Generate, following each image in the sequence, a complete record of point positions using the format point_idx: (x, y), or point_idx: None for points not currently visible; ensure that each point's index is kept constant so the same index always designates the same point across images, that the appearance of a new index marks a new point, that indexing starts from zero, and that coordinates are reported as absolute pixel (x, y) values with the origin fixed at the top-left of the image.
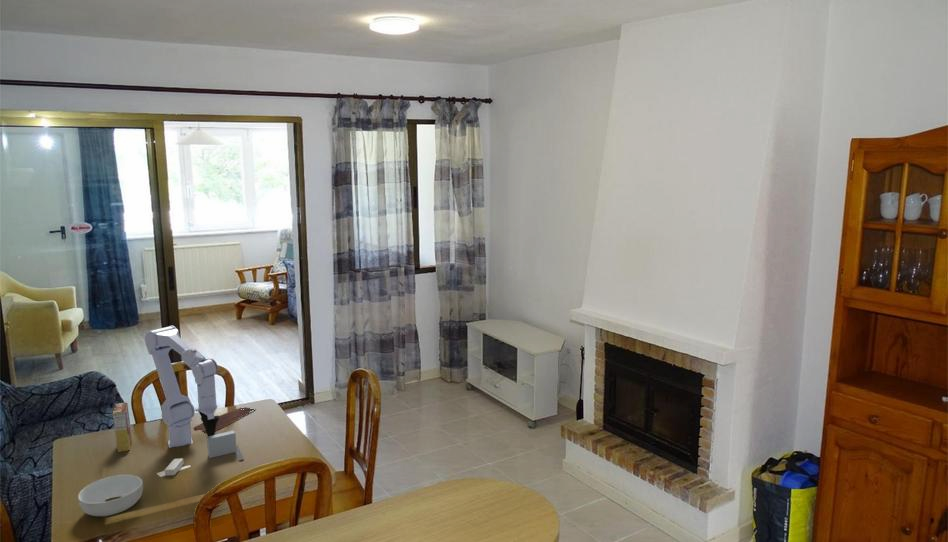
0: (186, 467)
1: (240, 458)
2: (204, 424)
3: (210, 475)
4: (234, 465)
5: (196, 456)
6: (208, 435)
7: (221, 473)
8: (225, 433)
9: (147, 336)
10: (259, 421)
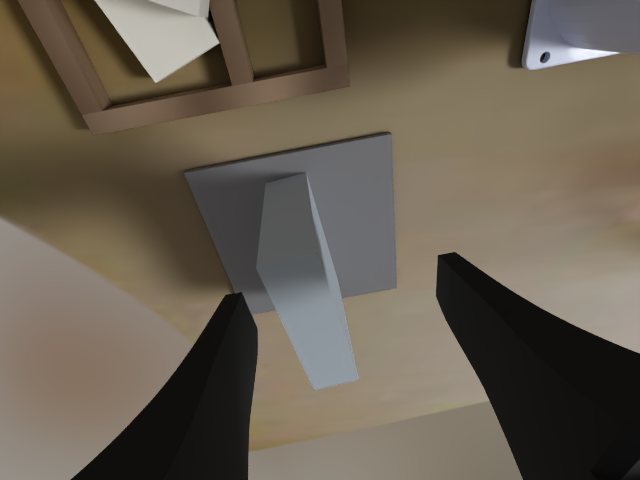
0: (141, 46)
1: (255, 304)
2: (110, 444)
3: (90, 194)
4: (199, 284)
5: (371, 96)
6: (220, 307)
7: (114, 241)
8: (327, 351)
9: None
10: (597, 334)
